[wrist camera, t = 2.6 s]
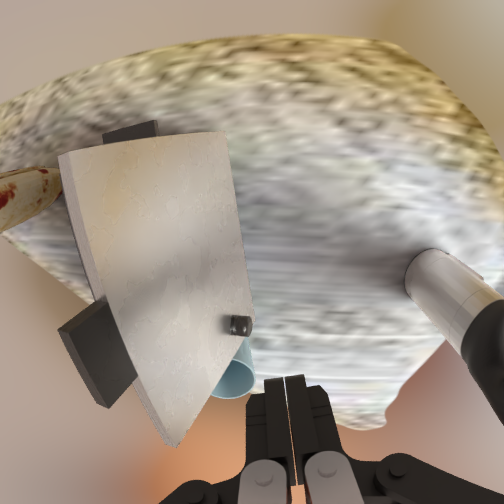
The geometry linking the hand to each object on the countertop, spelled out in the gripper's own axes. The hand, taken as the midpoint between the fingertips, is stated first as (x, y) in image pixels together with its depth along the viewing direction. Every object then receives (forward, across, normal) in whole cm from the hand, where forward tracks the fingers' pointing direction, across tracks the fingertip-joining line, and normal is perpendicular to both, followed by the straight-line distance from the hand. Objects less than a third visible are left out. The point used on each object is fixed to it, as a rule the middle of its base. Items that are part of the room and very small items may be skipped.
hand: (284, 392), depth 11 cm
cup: (+32, +7, +19) cm, 38 cm away
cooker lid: (+12, +7, 0) cm, 14 cm away
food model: (+32, +30, -9) cm, 45 cm away
